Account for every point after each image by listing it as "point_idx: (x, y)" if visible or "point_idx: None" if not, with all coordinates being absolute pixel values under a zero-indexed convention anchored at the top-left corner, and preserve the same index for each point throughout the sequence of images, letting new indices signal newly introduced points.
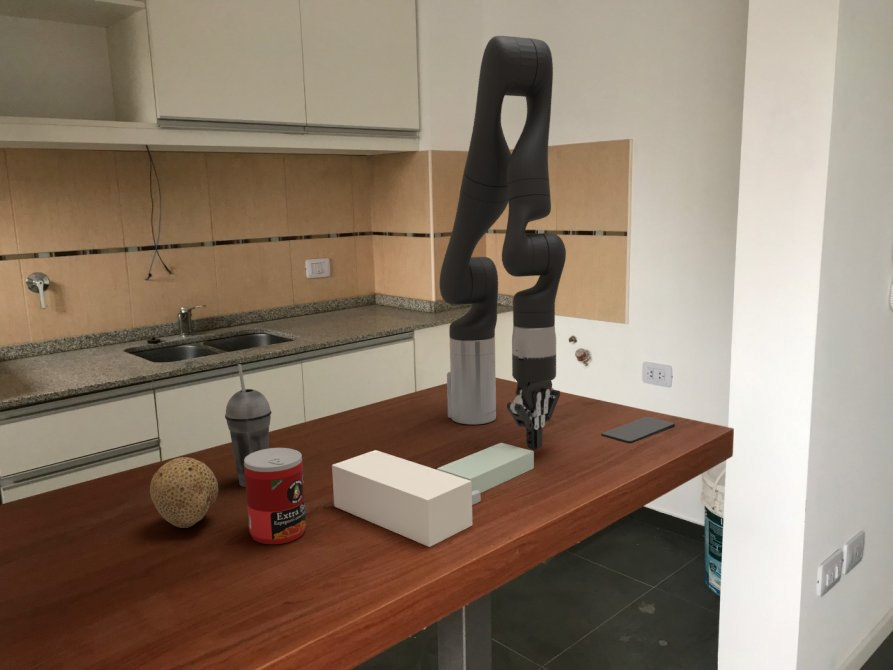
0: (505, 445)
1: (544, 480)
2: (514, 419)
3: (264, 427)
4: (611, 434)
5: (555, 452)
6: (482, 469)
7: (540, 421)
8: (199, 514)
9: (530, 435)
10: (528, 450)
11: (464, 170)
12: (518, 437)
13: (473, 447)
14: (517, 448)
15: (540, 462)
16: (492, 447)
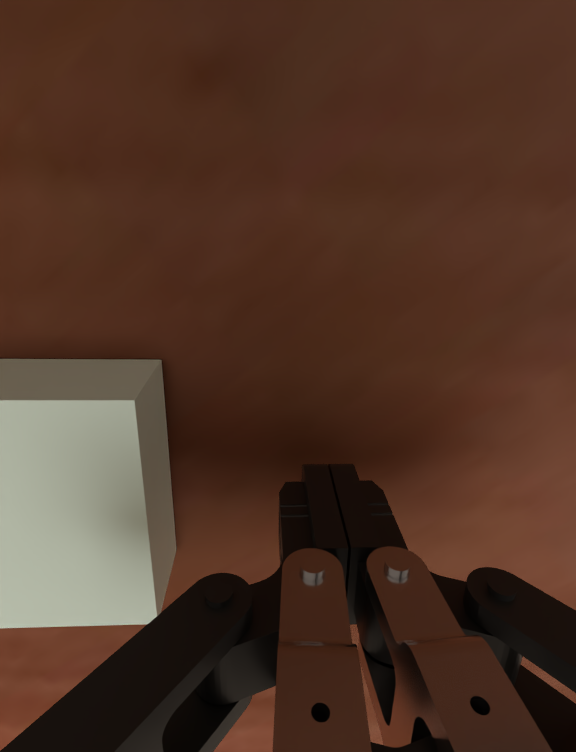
0: (112, 456)
1: (100, 644)
2: (117, 653)
3: None
4: None
5: (429, 503)
6: None
7: (368, 677)
8: None
9: (281, 562)
10: (146, 600)
11: None
12: (567, 188)
13: (204, 46)
14: (125, 541)
15: (263, 527)
16: (9, 419)
